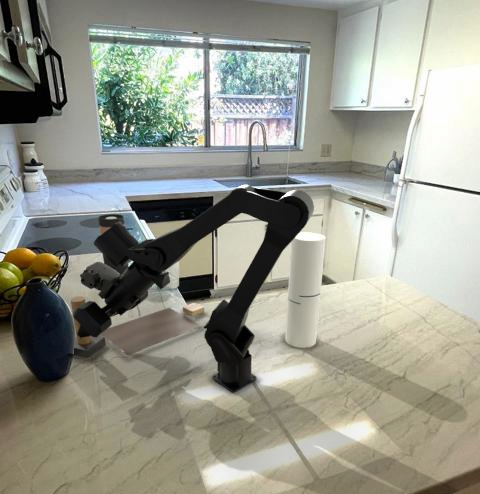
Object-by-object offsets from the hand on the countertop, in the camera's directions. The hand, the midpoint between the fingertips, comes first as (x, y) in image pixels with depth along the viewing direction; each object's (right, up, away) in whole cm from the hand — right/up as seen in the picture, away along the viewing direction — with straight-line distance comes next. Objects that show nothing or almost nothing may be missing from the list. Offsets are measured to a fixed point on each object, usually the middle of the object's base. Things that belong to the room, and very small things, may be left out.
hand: (93, 325), depth 85 cm
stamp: (-3, -6, +3) cm, 7 cm away
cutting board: (+10, -3, +12) cm, 15 cm away
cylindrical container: (+45, -4, +9) cm, 46 cm away
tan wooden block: (+19, +1, +20) cm, 28 cm away
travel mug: (-9, +11, +46) cm, 48 cm away
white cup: (+9, +8, +39) cm, 41 cm away
